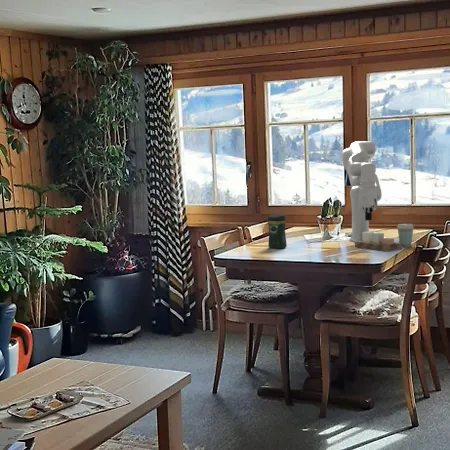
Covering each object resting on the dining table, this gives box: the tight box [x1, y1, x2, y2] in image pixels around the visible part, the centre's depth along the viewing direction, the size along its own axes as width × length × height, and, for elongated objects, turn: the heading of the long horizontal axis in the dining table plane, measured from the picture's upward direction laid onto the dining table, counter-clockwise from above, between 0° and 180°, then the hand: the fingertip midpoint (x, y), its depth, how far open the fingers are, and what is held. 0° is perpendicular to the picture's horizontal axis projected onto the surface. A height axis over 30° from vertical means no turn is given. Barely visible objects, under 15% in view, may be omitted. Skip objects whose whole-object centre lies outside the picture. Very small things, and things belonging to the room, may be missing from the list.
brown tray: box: [354, 240, 403, 252], centre depth 356 cm, size 22×12×3 cm, turn 33°
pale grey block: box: [362, 230, 375, 242], centre depth 362 cm, size 4×4×5 cm
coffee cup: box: [396, 223, 414, 249], centre depth 357 cm, size 8×8×12 cm
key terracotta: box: [382, 237, 395, 245], centre depth 350 cm, size 4×4×5 cm
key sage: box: [372, 232, 385, 243], centre depth 356 cm, size 4×4×5 cm
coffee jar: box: [267, 213, 287, 250], centre depth 366 cm, size 10×8×19 cm
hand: (368, 220), depth 360 cm, fingers closed
